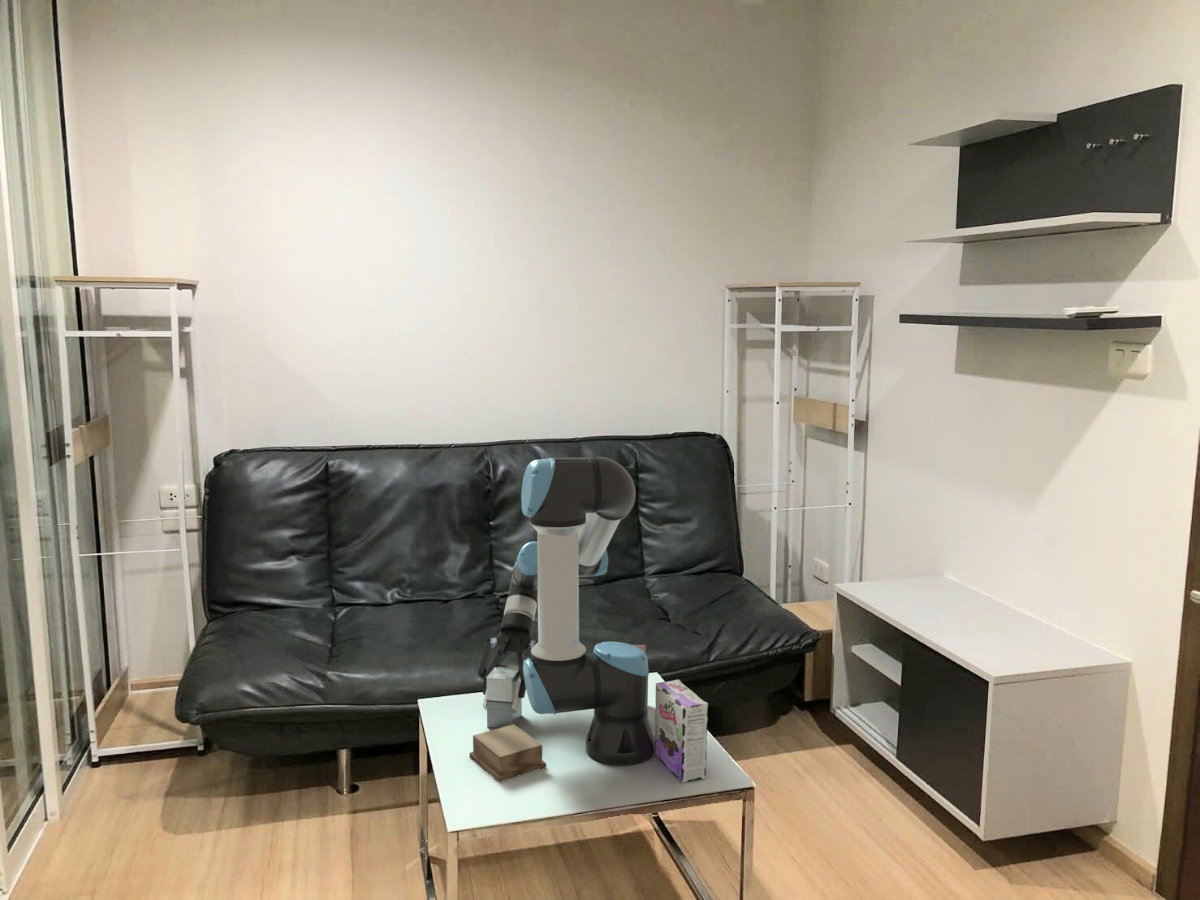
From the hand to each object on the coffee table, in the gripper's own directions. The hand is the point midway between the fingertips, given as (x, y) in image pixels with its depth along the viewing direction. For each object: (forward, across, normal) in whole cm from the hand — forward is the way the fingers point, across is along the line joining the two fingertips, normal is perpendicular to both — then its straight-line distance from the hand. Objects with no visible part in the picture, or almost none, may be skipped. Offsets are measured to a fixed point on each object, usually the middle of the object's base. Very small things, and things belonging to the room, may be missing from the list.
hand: (500, 709), depth 218 cm
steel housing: (+1, 0, -6) cm, 6 cm away
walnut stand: (+14, -6, +8) cm, 18 cm away
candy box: (+11, -42, +4) cm, 44 cm away
